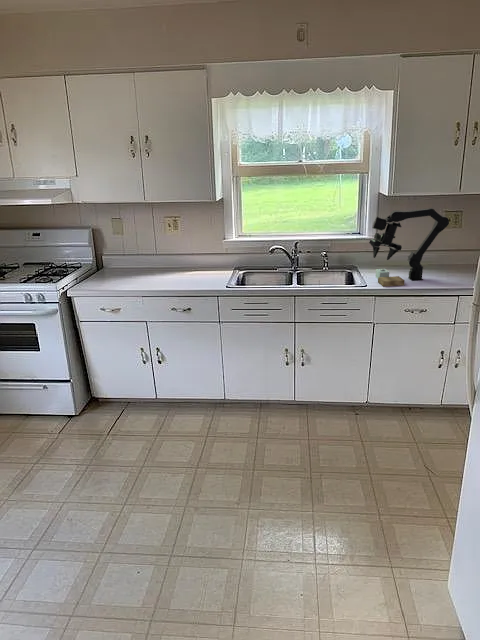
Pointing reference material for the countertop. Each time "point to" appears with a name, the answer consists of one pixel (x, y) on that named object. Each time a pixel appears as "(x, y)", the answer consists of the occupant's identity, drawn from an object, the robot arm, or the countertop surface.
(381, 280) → the walnut stand
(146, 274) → the countertop surface
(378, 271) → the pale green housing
